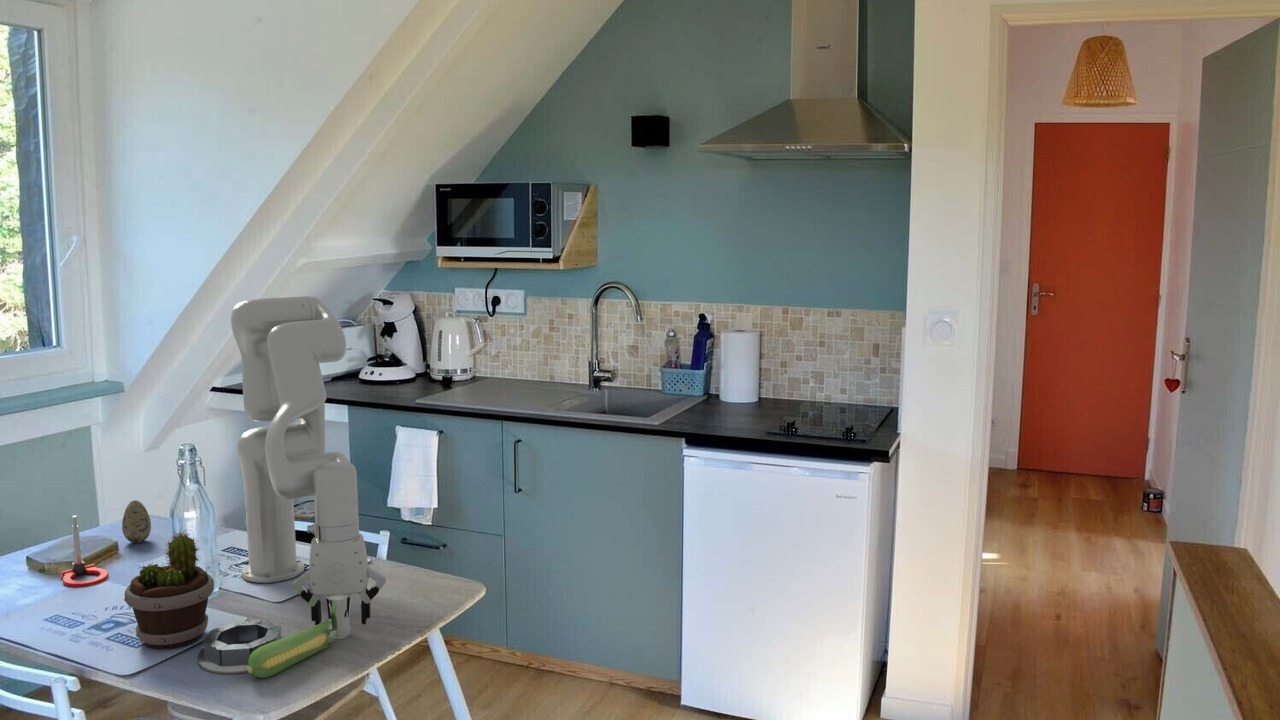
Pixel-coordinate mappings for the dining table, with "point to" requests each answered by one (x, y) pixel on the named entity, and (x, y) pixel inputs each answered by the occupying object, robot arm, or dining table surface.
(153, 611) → the flowerpot
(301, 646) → the edible corn
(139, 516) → the decorative egg
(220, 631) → the collar
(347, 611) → the milkshake
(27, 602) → the dining table surface
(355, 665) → the dining table surface
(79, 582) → the tow hook
